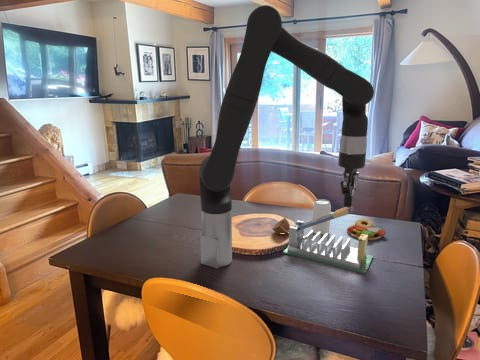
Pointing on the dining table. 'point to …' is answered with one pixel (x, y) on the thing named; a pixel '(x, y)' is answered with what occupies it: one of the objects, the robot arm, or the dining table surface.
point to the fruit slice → (282, 226)
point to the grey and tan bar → (326, 218)
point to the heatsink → (329, 250)
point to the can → (321, 210)
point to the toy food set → (365, 230)
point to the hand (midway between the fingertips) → (347, 206)
